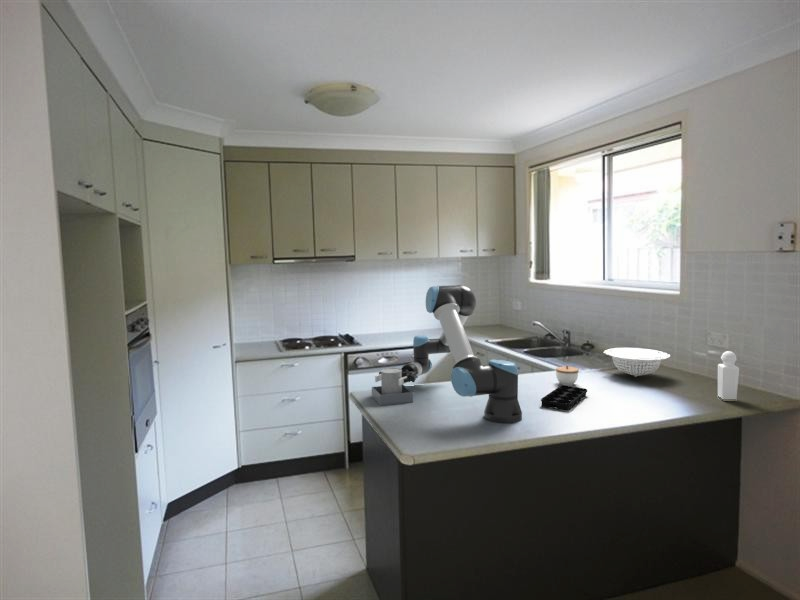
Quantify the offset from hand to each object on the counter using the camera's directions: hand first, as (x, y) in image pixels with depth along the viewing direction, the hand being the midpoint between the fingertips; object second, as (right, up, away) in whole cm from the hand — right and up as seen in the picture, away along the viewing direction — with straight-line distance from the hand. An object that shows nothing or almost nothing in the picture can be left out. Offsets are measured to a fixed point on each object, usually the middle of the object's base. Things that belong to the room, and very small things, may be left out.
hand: (387, 380), depth 240 cm
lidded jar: (+90, -6, +26) cm, 94 cm away
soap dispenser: (+151, -8, -4) cm, 151 cm away
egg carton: (+80, -9, -2) cm, 80 cm away
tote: (+2, -9, +4) cm, 10 cm away
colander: (+129, -4, +38) cm, 135 cm away
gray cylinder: (+2, -8, +4) cm, 9 cm away
